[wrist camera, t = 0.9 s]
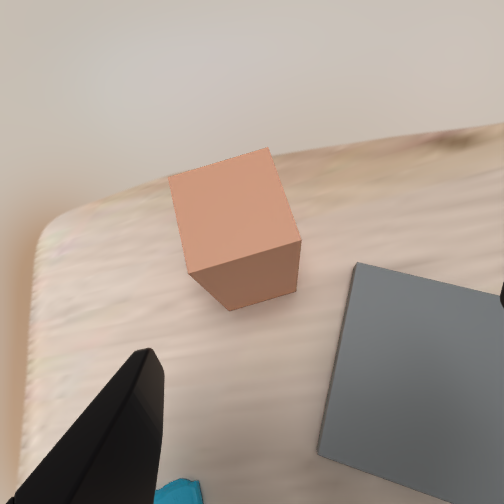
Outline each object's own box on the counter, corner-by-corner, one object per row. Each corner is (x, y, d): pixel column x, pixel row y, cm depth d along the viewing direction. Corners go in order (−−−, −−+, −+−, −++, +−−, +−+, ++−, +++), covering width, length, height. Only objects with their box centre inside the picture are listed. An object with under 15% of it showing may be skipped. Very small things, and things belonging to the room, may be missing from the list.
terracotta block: (296, 291, 23) (301, 239, 13) (229, 311, 23) (187, 273, 13) (275, 230, 25) (268, 147, 15) (213, 248, 25) (167, 177, 15)
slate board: (497, 514, 17) (511, 524, 16) (316, 449, 19) (318, 455, 18) (507, 304, 21) (520, 300, 20) (354, 267, 23) (357, 262, 22)
